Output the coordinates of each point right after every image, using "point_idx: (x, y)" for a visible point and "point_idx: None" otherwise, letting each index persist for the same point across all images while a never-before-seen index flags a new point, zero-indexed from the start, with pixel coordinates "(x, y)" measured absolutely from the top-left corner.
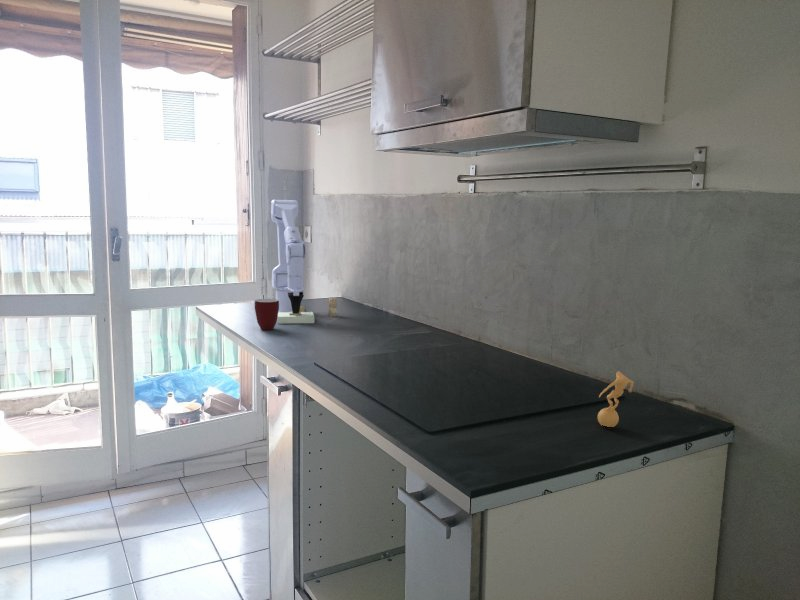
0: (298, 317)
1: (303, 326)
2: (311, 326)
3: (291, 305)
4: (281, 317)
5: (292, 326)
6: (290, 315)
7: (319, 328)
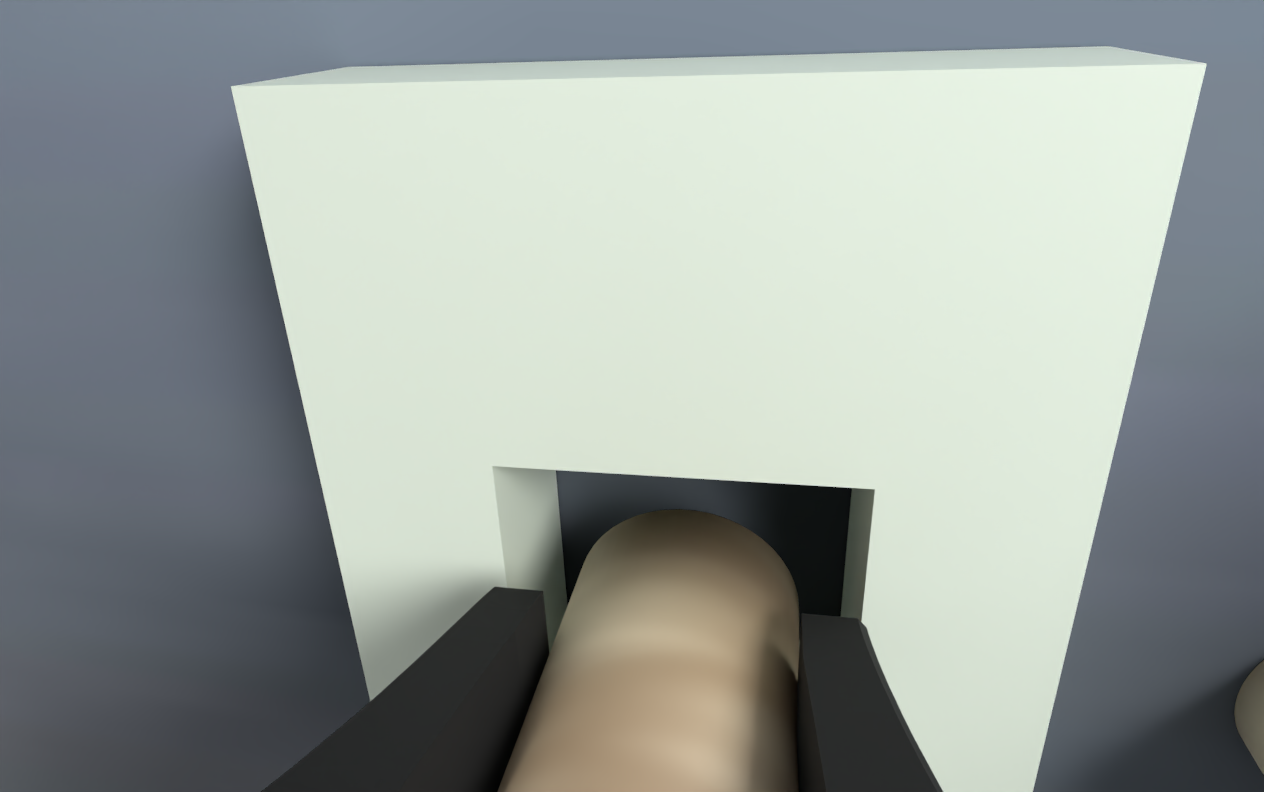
0: (366, 629)
1: (149, 585)
2: (177, 696)
3: (312, 753)
4: (272, 209)
5: (102, 401)
6: (489, 484)
7: (56, 764)
